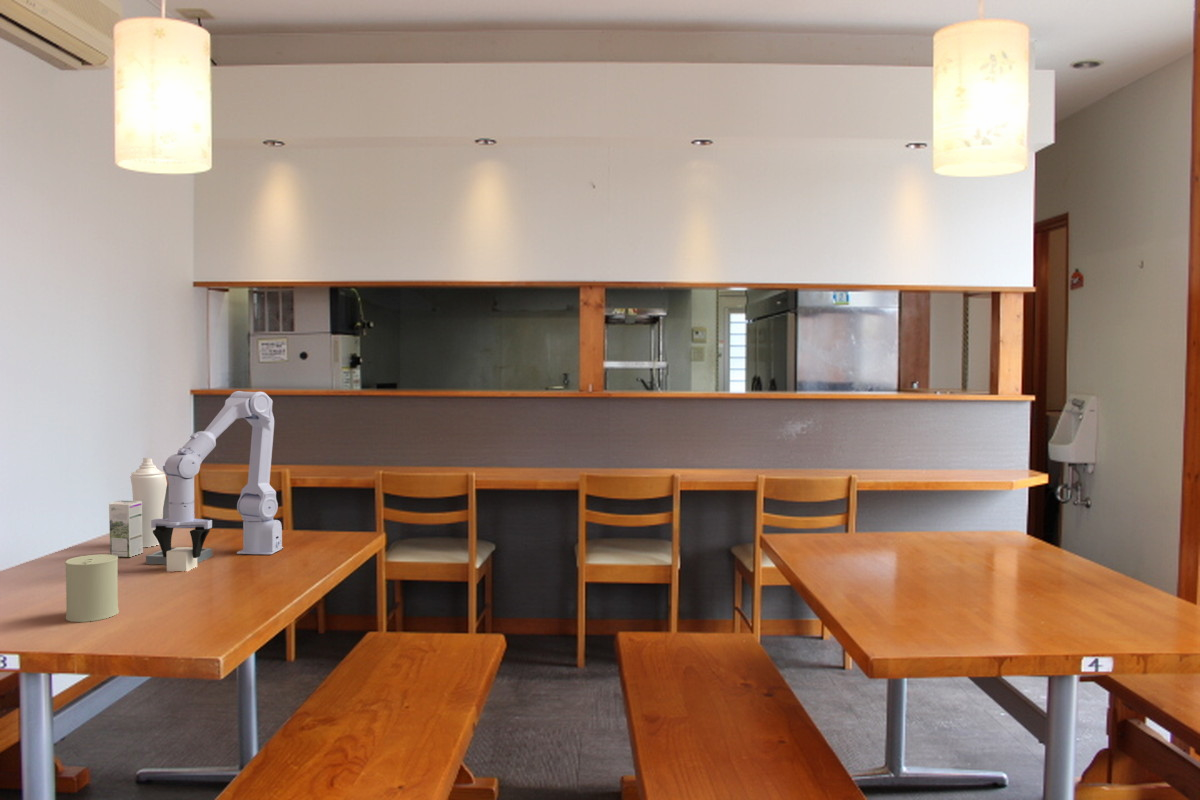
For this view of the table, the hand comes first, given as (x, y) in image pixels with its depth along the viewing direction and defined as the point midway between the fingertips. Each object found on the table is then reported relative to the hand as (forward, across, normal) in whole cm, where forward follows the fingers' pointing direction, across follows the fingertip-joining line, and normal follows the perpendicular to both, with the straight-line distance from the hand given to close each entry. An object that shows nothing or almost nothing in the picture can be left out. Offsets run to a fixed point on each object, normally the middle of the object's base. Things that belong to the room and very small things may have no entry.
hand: (181, 556), depth 205 cm
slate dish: (+3, -6, +9) cm, 11 cm away
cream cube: (+3, 0, 0) cm, 3 cm away
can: (+3, +4, -38) cm, 39 cm away
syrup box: (+3, -22, +13) cm, 26 cm away
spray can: (+3, -24, +25) cm, 35 cm away
